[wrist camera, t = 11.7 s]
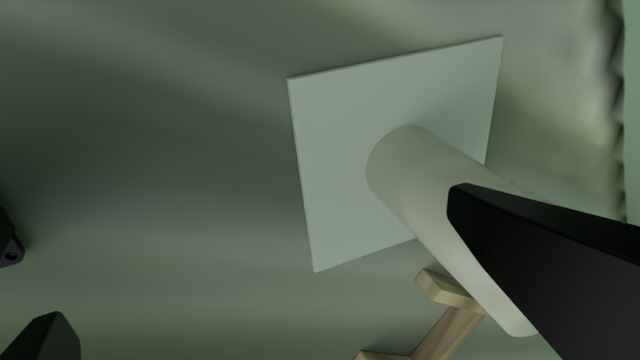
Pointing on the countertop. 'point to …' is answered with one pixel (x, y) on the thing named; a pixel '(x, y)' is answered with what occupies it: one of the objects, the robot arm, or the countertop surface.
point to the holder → (442, 320)
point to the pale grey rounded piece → (442, 208)
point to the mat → (382, 135)
